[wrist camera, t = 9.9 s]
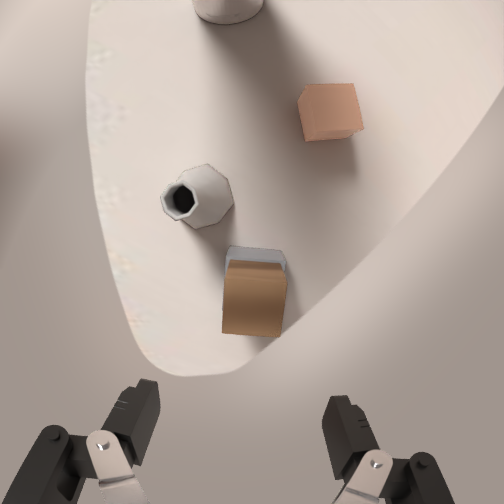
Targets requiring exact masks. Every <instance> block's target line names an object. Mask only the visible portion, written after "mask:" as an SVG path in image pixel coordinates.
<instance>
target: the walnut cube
mask: <svg viewBox="0 0 504 504" xmlns="http://www.w3.org/2000/svg"><path fill="white" fill-rule="evenodd" d="M286 291H287V281H286V278H285V275H284V272H283V269H282V267H281V264H280V263H271V262H258V261H245V260H233V259H230V262H229V265H228V268H227V272H226V275H225V279H224V298H223V319H222V333H225V334H237V335H250V336H265V337H280V334H281V327H282V320H283V313H284V306H285V298H286Z"/></svg>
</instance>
